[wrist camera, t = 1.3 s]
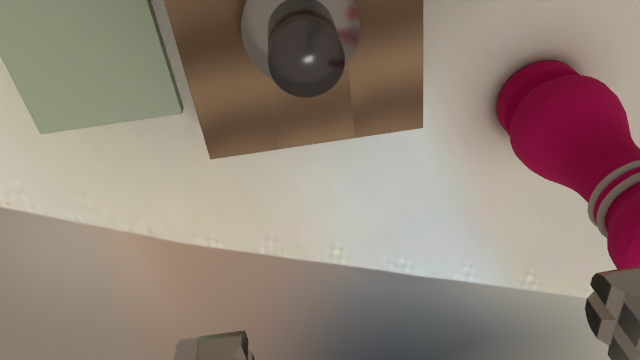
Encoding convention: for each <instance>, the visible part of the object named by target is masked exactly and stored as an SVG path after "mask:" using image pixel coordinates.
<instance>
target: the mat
mask: <svg viewBox="0 0 640 360" xmlns="http://www.w3.org/2000/svg"><path fill="white" fill-rule="evenodd" d="M0 56H1V58H2V60H3V62H4V64H5V66H6V68H7V70H8V71H9V73H10V75H11V77H12V79H13V81H14V83H15V85H16V87H17V89H18V91H19V93H20V95H21V97H22V99H23V101H24V103H25V105H26V107H27V109H28V111H29V113H30V115H31V117H32V119H33V121H34V122H35V124H36V126H37V128H38V130H39V132H40V134H46V133H52V132H59V131H66V130H73V129H79V128H86V127H93V126H100V125H106V124H113V123H120V122H127V121H134V120H140V119H147V118H154V117H161V116H167V115H174V114H181V113H182V112H183V105H182V101H181V98H180V95H179V92H178V88H177V85H176V82H175V79H174V75H173V72H172V69H171V66H170V62H169V59H168V56H167V53H166V49H165V46H164V43H163V40H162V36H161V33H160V30H159V27H158V23H157V20H156V17H155V14H154V10H153V7H152V4H151V1H150V0H0Z"/></svg>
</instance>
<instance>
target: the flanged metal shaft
mask: <svg viewBox="0 0 640 360" xmlns="http://www.w3.org/2000/svg"><path fill="white" fill-rule="evenodd" d="M241 34H242V40H243V44H244V47H245V50H246V52H247V54H248V56H249V58H250V59H251V61H252V62H253V63H254V65H255V66H256V67H257V68H258V69H259V70H260V71H261V72H262V73H264V74H265V75H266V76H268V77H270V78H271V79H273V80H274V82H275V83H276V84H277V85H278V86H279V87H280V88H281V89H282V90H283V91H285V92H286V93H288V94H290V95H293V96H296V97H303V98H308V97H315V96H319V95H321V94H323V93H325V92H327V91H329V90H330V89H331V88H332V87H334V86H335V84H336V83H337V82H338V81H339V79H340V77H341V76H342V73H343V70H344V67H345V65H346V64H347V63H348V61H349V60H350V59H351V57H352V55H353V53H354V51H355V49H356V46H357V44H358V40H359V34H360V19H359V13H358V9H357V6H356V4H355V2H354V0H245V3H244V7H243V12H242V20H241Z"/></svg>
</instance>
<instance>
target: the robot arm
mask: <svg viewBox="0 0 640 360" xmlns="http://www.w3.org/2000/svg"><path fill="white" fill-rule="evenodd" d="M590 285H591V287H592V288H593V290H594V292H593V293H592V294H591V295H590V296H589V297H588V298H587V300H586V306H585V311H586V317H587V321H588V323H589V326H590V328H591V330H592V331H593V333H594V335H595V336H596V338H597V339H599V340H601V341H602V342H604V343H606V344H608V345H609V349H608V356H609V357H610V359H611V360H640V266H639V267H638V266H634V267H629V268H623V269H617V270H611V271H606V272H600V273H596V274H595V275H594V276H593V277H592V280H591V284H590ZM174 360H255V359H254V356H253V353H252V352H251V351H250V350H248V338H247V335H246V332H245V331H237V332H230V333H222V334H214V335H207V336H200V337H194V338H187V339H180V340H179V342H178V344H177V346H176V350H175V355H174Z"/></svg>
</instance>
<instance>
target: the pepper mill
mask: <svg viewBox="0 0 640 360" xmlns="http://www.w3.org/2000/svg"><path fill="white" fill-rule="evenodd" d="M497 116H498V119H499V121H500V123H501V125H502V126H503V127H504V129H505V130H506V131H507V133H508V134H509V135H510V142H511V145H512V148H513V150H514V152H515V154H516V156H517V157H518V158H519V159H520V160H521V161H522V162H523V163H524V164H525V165H526V166H527V167H528V168H529V169H530V170H531V171H533V172H535V173H536V174H538V175H540V176H541V177H543V178H545V179H548V180H550V181H553V182H556V183H559V184H561V185H564V186H566V187H568V188H571V189H573V190H574V191H576V192H577V193H579V194H580V195H581V196H582V197H583V198H584V199H585V200H586V201H587V202H588V215H589V218H590V220H591V221H592V223H593V224H594V225H595V226H597V227H598V229H599V231H600V232H601V234H602V235H604V236H605V237H606V238H607V245H608V252H609V255H610V257H611V259H612V261H613V263H614V264H615V266H616V268H617V269H623V268H629V267H634V266H638V267H639V266H640V149H639V148H638V147H637V146H636V144H635V143H634V141H633V140H632V138H631V134H630V129H629V124H628V120H627V115H626V112H625V110H624V108H623V106H622V104H621V102H620V100H619V99H618V97H617V96H616V95H615V94H614V93H613V92H612V91H611V90H610V89H609V88H608V87H607V86H606V85H605V84H604V83H602V82H601V81H599V80H597V79H594V78H592V77H588V76H583V75H579V74H578V73H577V72H576V71H575V70H573V69H572V68H571V67H569V66H568V65H567V64H565V63H562V62H558V61H553V60H548V61H539V62H536V63H533V64H531V65H528V66H526V67H525V68H523V69H521V70H520V71H518V72H517V73H515V74H514V75H513V76H512V77H511V78H510V79H509V80H508V81H507V83H506V84H505V86H504V87H503V89H502V91H501V92H500V95H499V98H498V101H497Z"/></svg>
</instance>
